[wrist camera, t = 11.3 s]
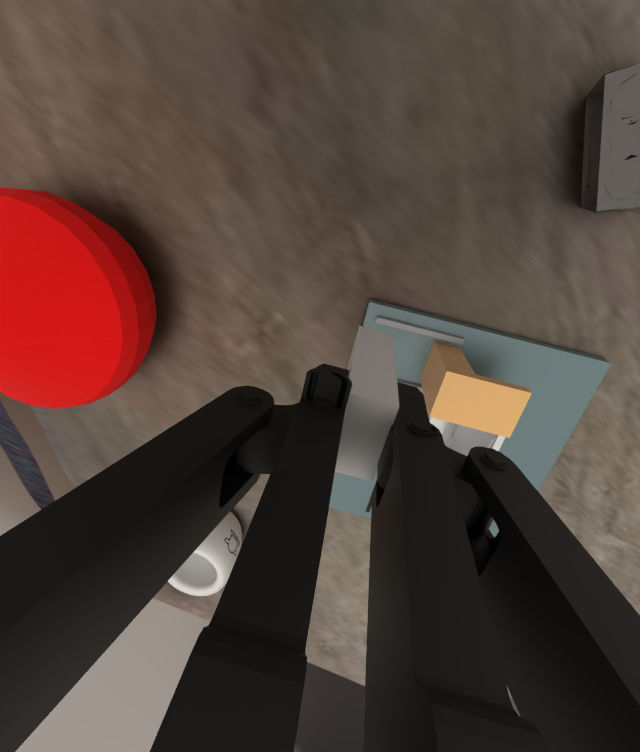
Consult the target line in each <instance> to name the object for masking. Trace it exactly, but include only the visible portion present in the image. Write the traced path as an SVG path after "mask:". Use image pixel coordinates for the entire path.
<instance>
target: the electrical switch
mask: <svg viewBox="0 0 640 752" xmlns="http://www.w3.org/2000/svg"><path fill="white" fill-rule="evenodd" d="M599 94H601V95H599ZM595 95H597V96H595ZM591 96H594V97H591ZM587 97H590V98H587ZM587 97H586V98H587V99H586V112H585V131H584V151H583V170H582V190H581V207H580V208H583V209H586V210H589V211H593V212H596V213H597V212H602V211H614V210H621V212H625V213H626V212H627V211H631V212H636V213H640V62H638V63H636V64H633V65H631V66H629V67H626V68H624V69H620V70H617V71H613V72H610V73H606V74H604V76H603V77H602V78H601V79H600V81H599V82H598V83H597V84H596V86H595V87H594V88H593V89H592V91H591V92H590V93H589V94H588V96H587ZM601 108H602V109H601ZM590 129H591V131H592V132H591V131H590ZM600 137H601V138H600ZM591 170H592V172H591ZM590 172H591V174H590ZM588 185H589V186H590V187H589V186H588ZM589 205H591V206H589ZM582 206H586V207H582Z"/></svg>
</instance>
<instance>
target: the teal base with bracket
mask: <svg viewBox="0 0 640 752" xmlns="http://www.w3.org/2000/svg"><path fill="white" fill-rule="evenodd" d="M362 327H366V328H370V329H374V330H377V331H381V332H385V333H389V334H393V340H394V352H395V363H396V374H397V382H400V383H404V384H407V385H411V386H415V387H417V388H418V389H419V390H420V391H421V392H422V393H423V390H422V386H421V382H420V378H421V375H422V372H423V369H424V366H425V364H426V361H427V358H428V355H429V353H430V350H431V347H432V344H433V342H434V341H437V342H441V343H444V344H448V345H452V346H456V347H459V348H460V349H461V351H462V353H463V354H464V356H465V358H466V359H467V361H468V363H469V364H470V366H471V368H472V369H473V371H474V373H475V374H476V375H480V376H484V377H488V378H492V379H496V380H500V381H503V382H507V383H511V384H515V385H519V386H523V387H527V388H528V389H529V390H530V391H531V393H532V394H531V396H530V398H529V400H528V402H527V404H526V406H525V408H524V410H523V412H522V414H521V416H520V418H519V420H518V422H517V424H516V426H515V428H514V430H513V432H512V434H511V436H510V438H507V437H504V436H500V435H496V434H494V435H493V437H492V439H491V442H490V444H489V446H488V448H492V449H495V450H496V451H499V452H501V453H502V454H503V455H505V456H506V457H508V458H509V459H511V460H512V461H513V462H514V463H515V464H516V465H517V467H518V468H519V469H520V470H521V472H522V473H523V474H524V475H525V476H526V478H527V479H528V480H529V481H530V482H531V484H532V485H533V486H534V487H535V489H536V490H537V491H539V489H540V488H541V486H542V484H543V482H544V481H545V479H546V477H547V475H548V474H549V472H550V470H551V468H552V467H553V465H554V463H555V461H556V460H557V458H558V456H559V454H560V452H561V451H562V449H563V447H564V445H565V444H566V442H567V440H568V438H569V437H570V435H571V433H572V431H573V430H574V428H575V426H576V424H577V423H578V421H579V419H580V417H581V416H582V414H583V412H584V410H585V409H586V407H587V405H588V403H589V402H590V400H591V398H592V396H593V395H594V393H595V391H596V389H597V388H598V386H599V384H600V382H601V381H602V379H603V377H604V375H605V374H606V372H607V370H608V368H609V367H610V365H611V363H610V362H608V361H607V360H605V359H604V358H602V357H598V356H594V355H590V354H586V353H582V352H578V351H574V350H570V349H566V348H562V347H558V346H555V345H551V344H547V343H543V342H539V341H535V340H531V339H527V338H523V337H519V336H515V335H511V334H507V333H503V332H499V331H495V330H491V329H487V328H484V327H480V326H476V325H472V324H468V323H464V322H460V321H456V320H452V319H448V318H444V317H440V316H436V315H432V314H428V313H424V312H420V311H417V310H413V309H409V308H405V307H401V306H397V305H393V304H389V303H385V302H381V301H377V300H373V299H370V300H369V304H368V307H367V311H366V314H365V318H364V322H363V325H362ZM423 395H424V394H423ZM424 399H425V398H424ZM425 403H426V402H425ZM426 409H427V406H426ZM427 412H428V410H427ZM428 417H429V414H428ZM429 421H430V423H431V424H433V425H434V426H435V427H436V428H438V429H439V430H440V432H441V434H442V437H443V440H444V444H445V442H446V439H447V437H448V434H449V432H450V430H451V427H452V425H453V423H451V422H447V421H443V420H439V419H436V418H432V417H429ZM376 480H377V471H376V474H375V477H374V479H373V482H372V481H368V480H364V479H361V478H357V477H353V476H350V475H346V474H342V473H339V472H335V474H334V480H333V486H332V492H331V498H330V504H329V508H333V509H337V510H340V511H344V512H347V513H351V514H355V515H358V516H362V517H365V518H369V519H371V513H372V507H371V509H370V511H369V512H365V511H366V508H367V505H368V503H369V500H370V497H371V494H372V491H373V489H374V486H375V483H376ZM489 530H490V532H491V533H492V535H493V536H494V537H495V536H496V535H497V533H498V532H499V529H498V527H497V525H496V523H495V521H494V520H493V522H492V524H491V526H490V528H489Z"/></svg>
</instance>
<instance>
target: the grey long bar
mask: <svg viewBox="0 0 640 752" xmlns="http://www.w3.org/2000/svg"><path fill="white" fill-rule="evenodd" d="M493 435H494V434H492V433H488V432H485V431H481V430H477V429H473V428H470V427H466V426H462V425H458V424H454V423H453V425H452V427H451V430H450V432H449V434H448V437H447V439H446V442H445V446H447V447H449V448H451V449H452V450H454V451H457V452H459V453H461V454H463V455H466V456H467V455H468V453H469V451H470V449H471V448H473V447H486V448H488V446H489V444H490V442H491V439H492V437H493Z"/></svg>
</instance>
